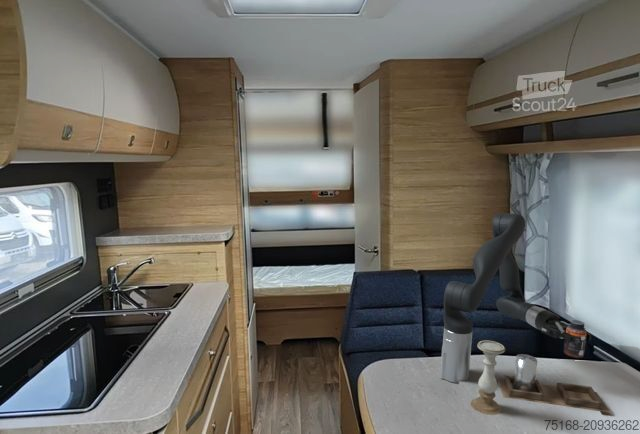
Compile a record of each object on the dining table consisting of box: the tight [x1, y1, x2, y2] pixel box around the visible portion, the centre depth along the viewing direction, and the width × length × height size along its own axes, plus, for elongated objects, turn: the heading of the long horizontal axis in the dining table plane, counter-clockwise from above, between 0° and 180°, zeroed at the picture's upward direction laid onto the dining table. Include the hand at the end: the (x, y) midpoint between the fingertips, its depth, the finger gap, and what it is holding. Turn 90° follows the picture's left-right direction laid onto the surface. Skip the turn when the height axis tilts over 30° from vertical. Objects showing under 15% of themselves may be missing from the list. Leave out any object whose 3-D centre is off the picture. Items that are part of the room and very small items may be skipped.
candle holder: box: [470, 340, 506, 416], centre depth 131 cm, size 9×9×20 cm
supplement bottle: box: [563, 319, 588, 359], centre depth 145 cm, size 6×6×11 cm
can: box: [513, 353, 538, 392], centre depth 141 cm, size 6×6×11 cm
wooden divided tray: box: [497, 374, 612, 416], centre depth 140 cm, size 30×12×3 cm, turn 76°
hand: (582, 338), depth 143 cm, fingers closed on supplement bottle, 6 cm apart
